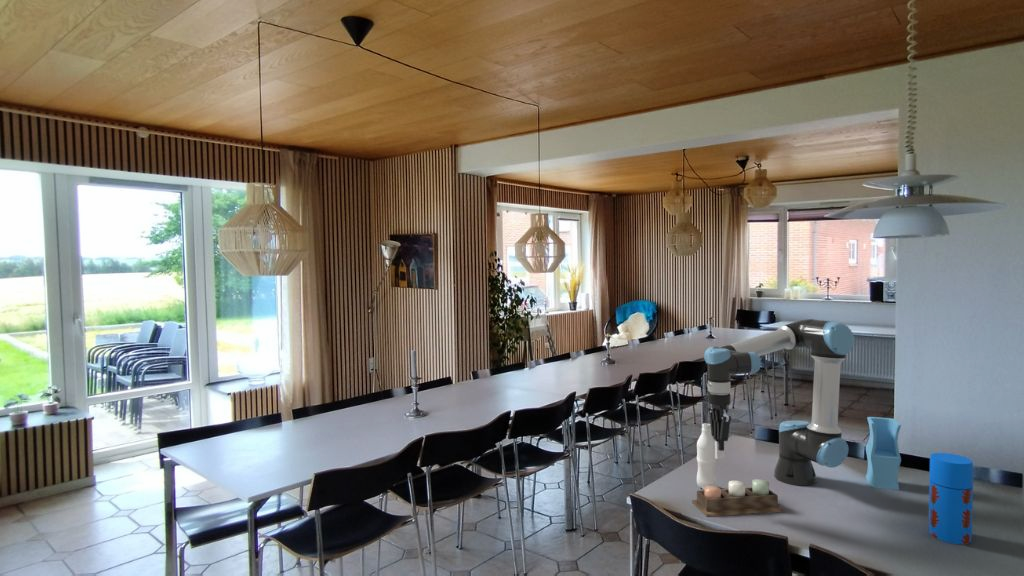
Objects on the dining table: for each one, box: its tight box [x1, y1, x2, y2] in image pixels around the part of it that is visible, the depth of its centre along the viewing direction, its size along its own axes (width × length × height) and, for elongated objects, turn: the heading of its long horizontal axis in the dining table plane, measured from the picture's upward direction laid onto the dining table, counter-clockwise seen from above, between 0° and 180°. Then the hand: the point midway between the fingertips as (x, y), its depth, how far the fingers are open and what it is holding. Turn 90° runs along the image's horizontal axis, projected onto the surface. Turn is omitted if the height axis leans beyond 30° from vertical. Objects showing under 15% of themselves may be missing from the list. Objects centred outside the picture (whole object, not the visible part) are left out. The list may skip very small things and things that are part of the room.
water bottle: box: [696, 422, 717, 490], centre depth 222 cm, size 7×7×25 cm
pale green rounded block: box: [751, 478, 770, 496], centre depth 206 cm, size 6×6×5 cm
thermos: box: [928, 452, 974, 545], centre depth 181 cm, size 11×11×25 cm
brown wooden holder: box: [691, 487, 784, 517], centre depth 205 cm, size 28×12×5 cm, turn 96°
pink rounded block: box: [705, 486, 721, 499], centre depth 204 cm, size 6×6×5 cm
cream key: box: [728, 480, 746, 497], centre depth 205 cm, size 6×6×5 cm
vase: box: [865, 416, 902, 491], centre depth 224 cm, size 10×10×25 cm
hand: (719, 458), depth 204 cm, fingers closed
